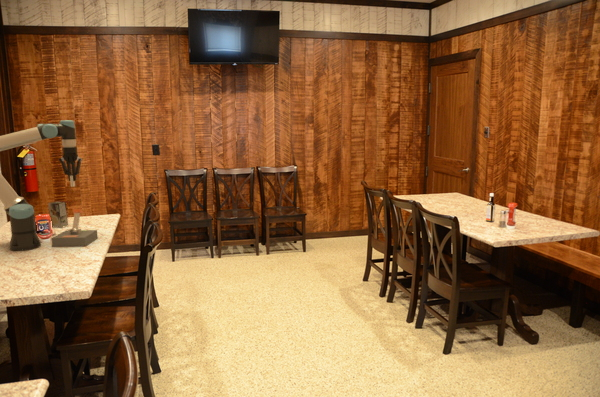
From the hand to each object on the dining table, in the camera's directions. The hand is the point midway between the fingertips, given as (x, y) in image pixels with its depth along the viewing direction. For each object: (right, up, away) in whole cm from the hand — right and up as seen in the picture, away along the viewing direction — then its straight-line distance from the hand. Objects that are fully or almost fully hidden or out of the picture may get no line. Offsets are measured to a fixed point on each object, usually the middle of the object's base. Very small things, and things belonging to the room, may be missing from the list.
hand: (73, 186), depth 282 cm
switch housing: (+6, -32, -10) cm, 35 cm away
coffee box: (-24, -26, +32) cm, 48 cm away
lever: (+6, -27, -11) cm, 30 cm away
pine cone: (-32, -29, +15) cm, 46 cm away
